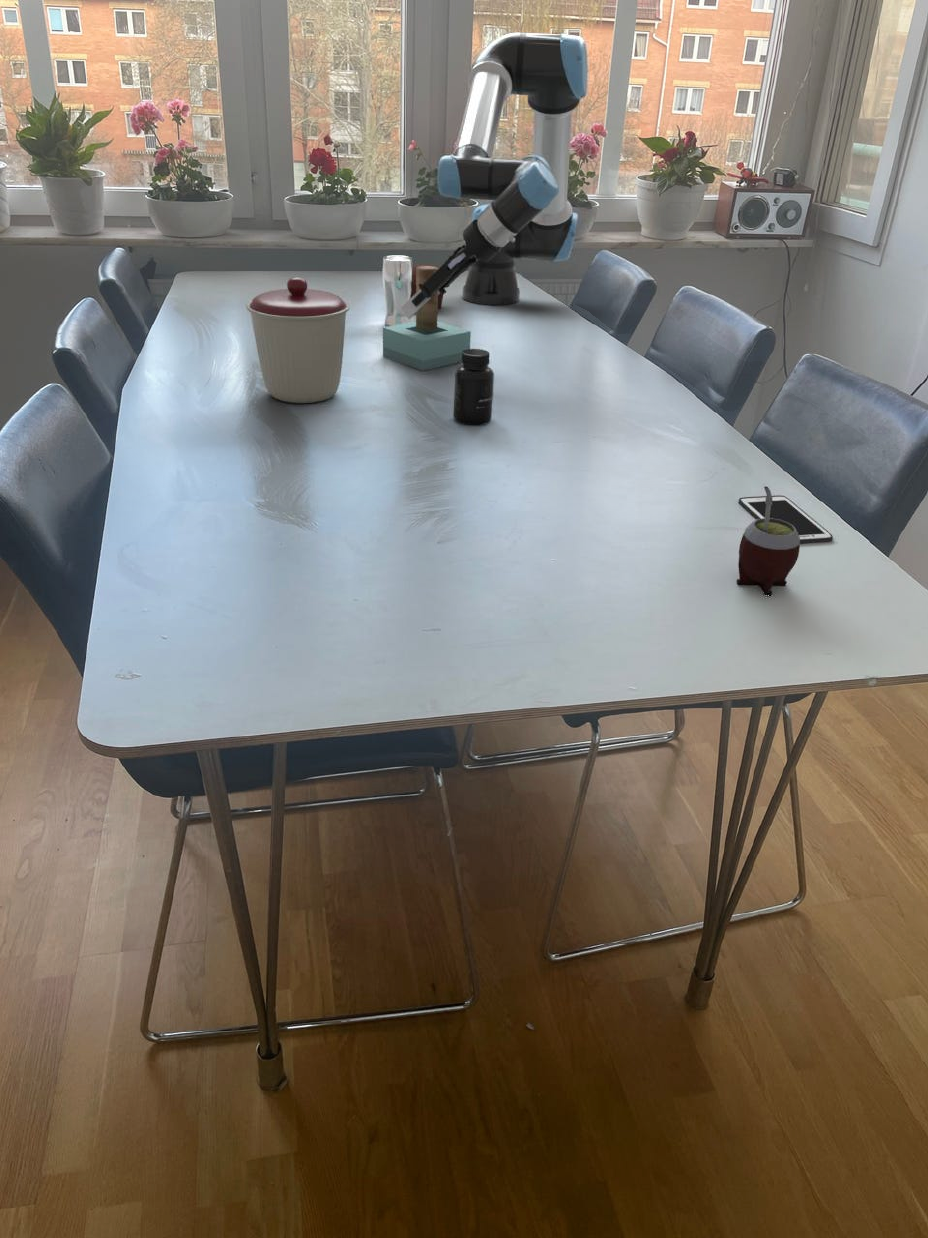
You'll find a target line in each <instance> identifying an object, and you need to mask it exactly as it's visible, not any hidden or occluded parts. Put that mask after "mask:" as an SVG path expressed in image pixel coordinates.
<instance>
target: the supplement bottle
mask: <svg viewBox="0 0 928 1238" xmlns="http://www.w3.org/2000/svg"><path fill="white" fill-rule="evenodd" d="M490 361H491V360H490V352H489V351H487V350H485V349H480V348H470V349H466V350H463V351H462V359H461V362H460V363H461V365H460V366H458V367H457V368H456V370H455V372H454V390H453V409H452V410H453V411H452V413H453V414H452V415H453V419H454V421H456V422H458V423H460V424H462V425H468V426H469V425H470V426H480V425H485V424H488V423H489V422H490V421H491V419H492V413H493V411H492V410H493V399H494V383H495V382H494V381H495V373H494V370H493V368H491V367H489V365H490V364H491V363H490Z"/></svg>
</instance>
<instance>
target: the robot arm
mask: <svg viewBox="0 0 928 1238" xmlns="http://www.w3.org/2000/svg"><path fill="white" fill-rule="evenodd" d="M588 72H589V70H588V52H587V45H586V41H585V40H584V38H583V37H581V36H579V35H573V34H571V35H570V34H567V33H561V34H558V33H556V34H554V33H534V32H532V33H531V32H530V33H529V32H519V31H518V32H517V31H516V32H510V33H506V34H504V35H501V36H499V37H497V38H496V39H495V40H492V41H491V42H490V43H488V44H487V46H485V47H484V48H483V49H482V50H481V51H480V52H479V54H478V55H477V56H476V58H475V59H474V62H473V63H472V64H471V67H470V70H469V73H468V77H467V87H468V92H469V93H468V97H467V100H466V105H465V109H464V112H463V117H462V120H461V124H460V128H459V132H458V136H457V139H456V140H457V141H456V143H455V147H454V152H453V154H450V155H443V156H441V157H440V159H439V162H438V166H437V190H438V193H439V194H440V195H441V196H443V197H446V198H455V199H457V200H460V199H461V200H465V199H466V200H481V201H482V200H483V201H487V200H488V201H489V200H490V201H492V202H490V203H487V204H483V205H480V206H477V207H476V208H475V209H474V210H473V212H472V218H471V223H470V224H468V225H467V227H466V228H464V230H462V231H463V232H462V238H463V241H464V242H465V243H464V244H463V245H462V246H459V247H457V249H455V250H454V251H453V253H452V255H451V256H448V258H447V259H446V260H445V262H444V263H443V264H442V265H441V266H440V267H439V268H438V270H437V271H436V272H435V273H434V274H433V275H432V276H431V277H430V278H429V279H428V280H427V281H426V282H425V283H424V284H423V285H422V284H419V285H418V286H419V287H420V289H419V290H418V291H417V292H416V293H415V294H414V295H413V296H412V297H411V298H410V299H409V300H408V301H407V302H406V303H405V304H404V305H403V306H402V307H401V308H400V309H401V310H402V311H403V313H404V314H405V315H406V316H407V318H408V319H410V320H411V318H412V317H413V316H414V315H416V312H417V311H418V310H419V309H420V308H421V307H422V306H423V305H424V304H425V303H426V302H427V301H429V300H430V299H431V297H432V295H433V294H434V293H435V292H436V291H437V290H438V295H439V294H440V292H439V290H440V291H441V293H442V294H443V295H445V294H446V293H447V290H446V288H447V289H448V288H449V287H450V285H451V284H452V283H454V282H455V280H456V279H458V277H460V276H461V274H463V273H464V272H466V271H467V270H468V273H467V276H466V280H465V283H464V285H463V286H462V287H463V288H462V295H461V296H462V299H463V300H465V301H467V302H471V303H474V304H481V305H491V306H492V305H498V306H501V305H510V304H511V305H512V304H515V303H517V302H519V301H520V296H521V295H520V293H521V291H520V288H519V286H518V285H519V284H518V280H517V275H516V269H515V266H516V259H518V260H519V259H520V260H533V261H545V262H551V263H553V262H566V261H567V260H569V258H570V256H571V254H572V250H573V247H574V242H575V241H574V240H575V235H576V230H577V224H578V218H579V215H578V213H576V212H573V206H572V204H571V203H570V201H569V200H568V187H569V173H570V172H569V171H570V170H569V169H570V168H569V167H570V154H571V152H570V151H571V139H572V138H571V137H572V119H573V118H572V117H573V111H575V110H576V109H577V107H579V105H580V102H581V99H583V98H585V97H586V95H587V92H588ZM510 95H518V96H527V105H528V107H529V108H530V109H531V110H532V111H533V139H532V140H533V141H532V154H529V155H526V156H524V157H522V158H521V159H512V158H511V159H510V158H496V157H493V154H494V153H493V152H494V148H495V144H496V138H497V135H498V130H499V125H500V121H501V119H502V118H501V116H502V114H503V113H502V112H503V108H504V103H505V102H506V101H507V100H508V98H510Z"/></svg>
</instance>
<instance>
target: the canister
mask: <svg viewBox="0 0 928 1238" xmlns="http://www.w3.org/2000/svg"><path fill="white" fill-rule="evenodd" d="M245 307H246V310H247V312H248V313H250V316H251V321H252V322H251V323H252V328H253V333H254V338H255V343H256V349H257V355H258V361H259V365H260V369H261V370H260V371H261V375H262V380H263V383H264V387H265V388H266V390H267V392H268V393H269V395H271V396H272V397H273V398H274V399H276V400H279V401H282V402H284V403H285V402H287V403H292V404H312V403H319V402H323V401H325V400H329V399H330V398H332V397H334V395H335V394H336V393H337V391H338V389H339V388H340V383H341V377H342V376H341V375H342V369H343V367H342V366H343V357H344V345H345V344H344V343H345V332H346V331H345V330H346V316H347V312H348V311H349V310H350V304H349V302H348V301H346V300H345V299H343V298H342V297H341V296H339V295H337V294H334V293H333V292H328V291H324V290H319V289H312V288H311V289H310V288H308V282H307V281H306V279H305V278H303V277H300V276H299V277H298V276H294V277H290V278H289V279H288V281H287V282H286V288H285V289H275V290H269V291H266V292H263V293H260V294H258V295H256V296H254V298H253V299H251V300H249V301H248V302H246V304H245Z"/></svg>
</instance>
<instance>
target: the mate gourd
mask: <svg viewBox="0 0 928 1238" xmlns="http://www.w3.org/2000/svg"><path fill="white" fill-rule="evenodd" d="M763 489H764V492H765V493H766V494H765V496H767V497H766V502H765V505H766V512H765V518H762V519H757V520H756V519H755V520H753V521H752V522H751V523H749V525H748V526H747V527H745V530H744V532H743V534H742V536H741V540H740V543H739V550H738V563H737V565H738V566H737V567H738V574H739V575H738V576H739V578H737V579H736V584H737V585H738V586H746V587H748V586H750V587H751V586H752V587H753V586H754V587H758V588H759V589H760V590H761V591H763V592H764V593H763V592H762V593H763V595H764V594H765V595H767V596H766V597H772V596H771V595H773V592H772V587H786V586H787V583H788V582H787V580H786V579H787V577H788V575H789V574H790V572H791V571H792V570H793V568H794V566H795V564H797V561H798V559H799V555H800V548H801V546H800V545H801V544H800V537H799V534H798V532H797V530H796V529H795V527H794V526H793V525H791V524H789V523H788V522H785V521H782V520H779V519H773V518H770V509H771V505H772V496H773V495H772V491H771V489H770V488H769V486H765V485H764V486H763ZM765 595H764V596H765ZM768 595H769V596H768Z"/></svg>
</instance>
